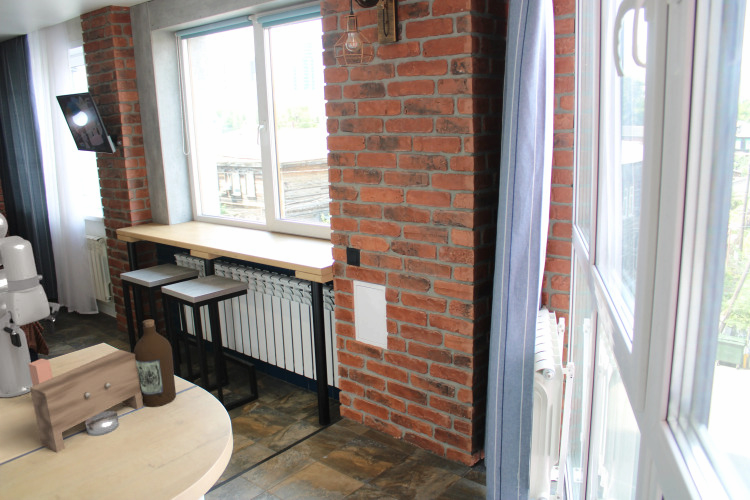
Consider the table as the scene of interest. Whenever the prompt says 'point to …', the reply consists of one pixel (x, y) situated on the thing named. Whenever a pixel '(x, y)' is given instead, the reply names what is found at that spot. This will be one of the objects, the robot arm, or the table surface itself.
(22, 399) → the table surface
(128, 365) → the cabinet
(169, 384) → the olive oil
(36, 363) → the block
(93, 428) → the puck
